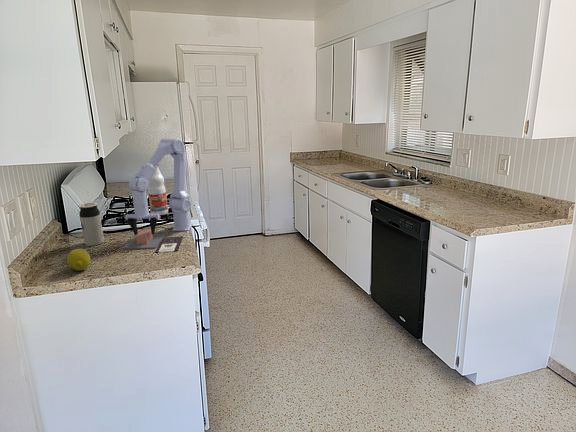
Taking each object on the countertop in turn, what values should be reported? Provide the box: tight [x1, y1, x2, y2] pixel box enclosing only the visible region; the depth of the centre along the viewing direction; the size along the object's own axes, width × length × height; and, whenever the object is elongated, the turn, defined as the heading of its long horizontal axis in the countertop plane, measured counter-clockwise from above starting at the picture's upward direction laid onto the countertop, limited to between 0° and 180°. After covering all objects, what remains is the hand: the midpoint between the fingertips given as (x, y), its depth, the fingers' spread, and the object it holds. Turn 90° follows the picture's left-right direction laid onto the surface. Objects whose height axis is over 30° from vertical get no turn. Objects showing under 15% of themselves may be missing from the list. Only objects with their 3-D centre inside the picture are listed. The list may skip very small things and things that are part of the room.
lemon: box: [66, 248, 91, 272], centre depth 149 cm, size 11×8×8 cm
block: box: [135, 229, 153, 244], centre depth 177 cm, size 8×4×4 cm, turn 0°
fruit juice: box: [147, 164, 169, 216], centre depth 219 cm, size 9×9×28 cm
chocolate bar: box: [154, 235, 184, 254], centre depth 173 cm, size 9×1×18 cm
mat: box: [121, 233, 168, 250], centre depth 178 cm, size 18×14×1 cm
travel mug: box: [78, 202, 105, 247], centre depth 175 cm, size 8×8×18 cm
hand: (144, 234), depth 177 cm, fingers open, 7 cm apart
